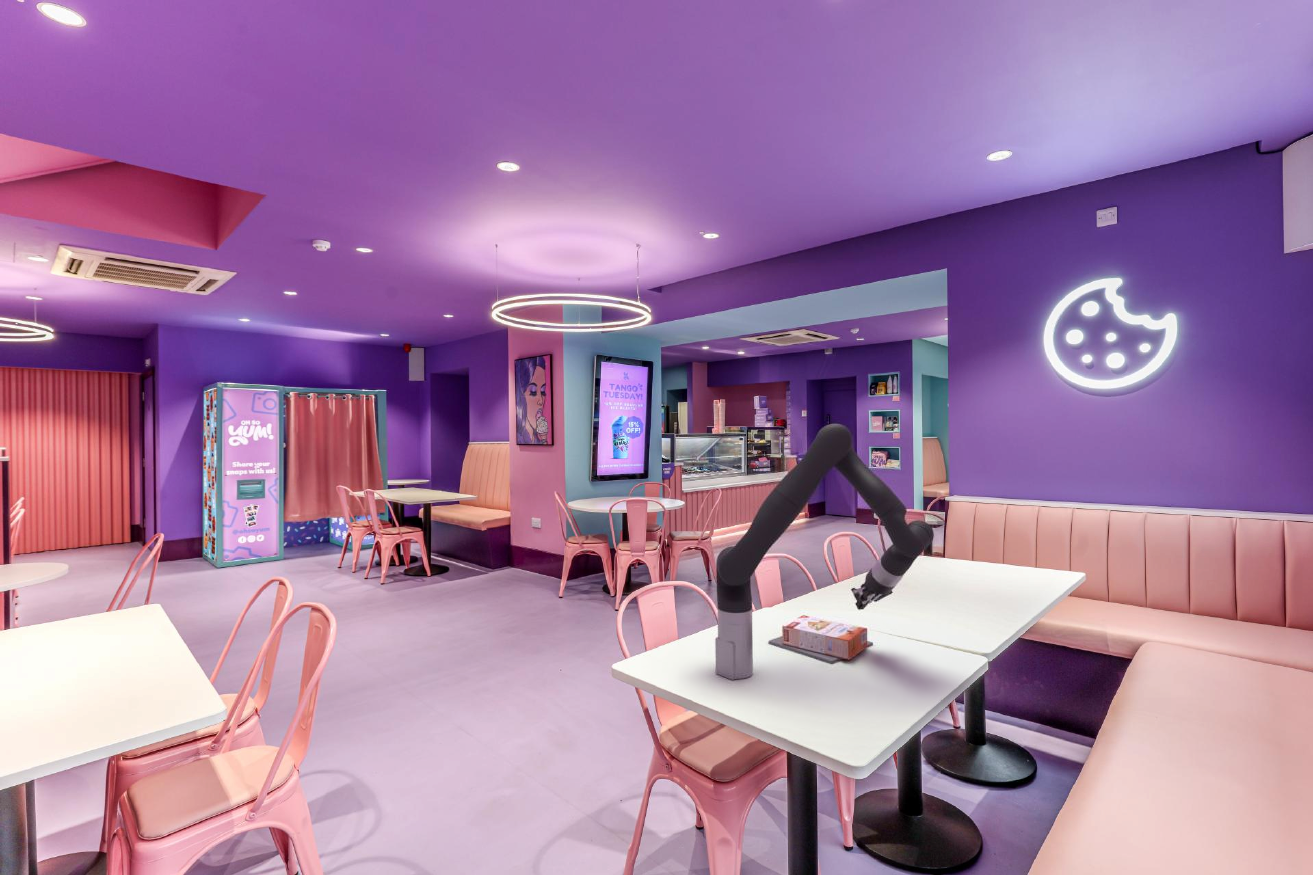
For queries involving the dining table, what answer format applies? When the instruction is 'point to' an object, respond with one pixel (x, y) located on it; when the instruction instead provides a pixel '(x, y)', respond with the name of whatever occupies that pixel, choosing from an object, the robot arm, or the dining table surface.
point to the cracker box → (825, 636)
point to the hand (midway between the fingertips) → (859, 606)
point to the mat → (809, 651)
